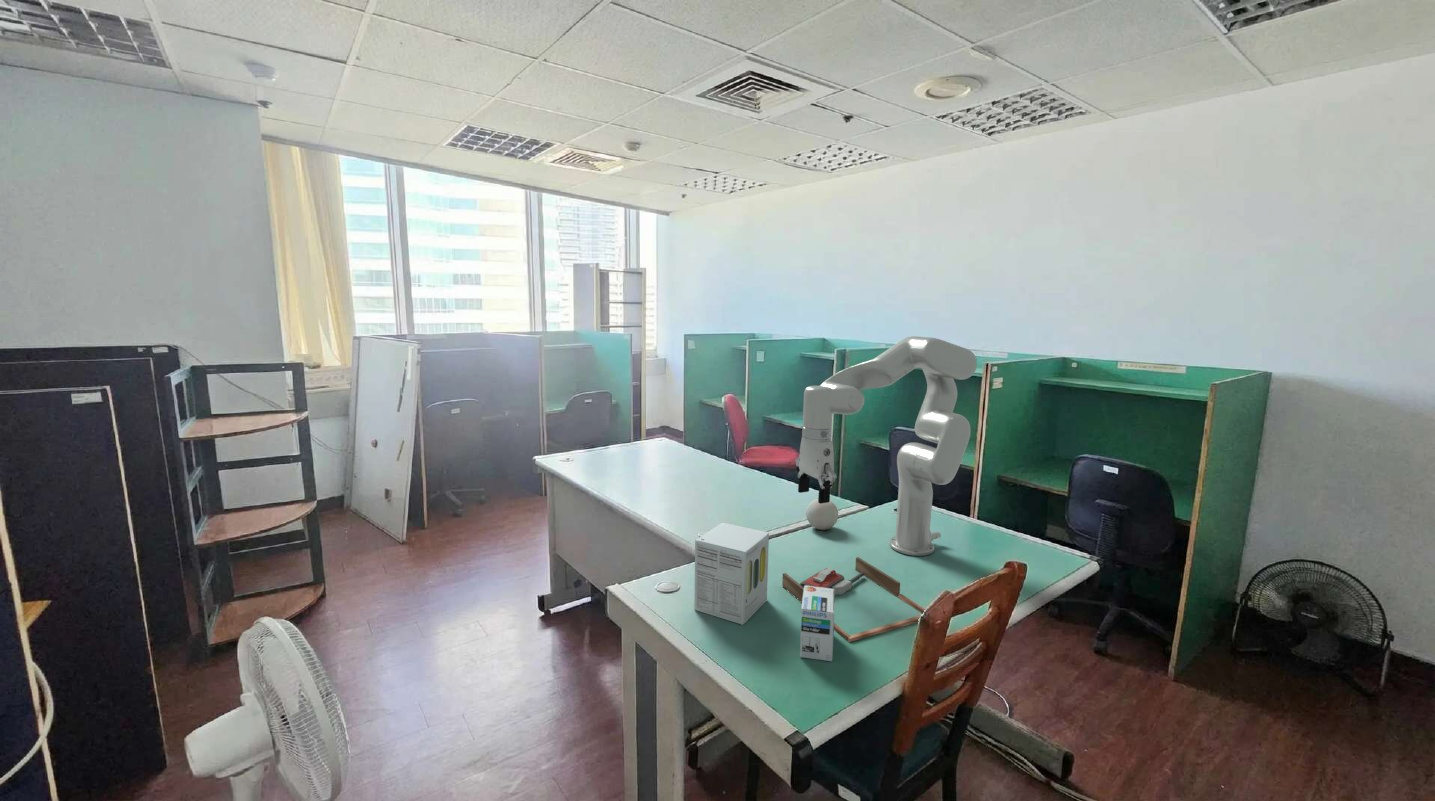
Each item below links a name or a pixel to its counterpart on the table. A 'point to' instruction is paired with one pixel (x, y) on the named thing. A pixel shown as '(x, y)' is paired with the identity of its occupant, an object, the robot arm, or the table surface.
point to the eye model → (822, 514)
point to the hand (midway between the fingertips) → (813, 497)
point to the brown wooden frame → (876, 577)
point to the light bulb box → (817, 623)
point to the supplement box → (731, 572)
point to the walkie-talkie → (831, 581)
